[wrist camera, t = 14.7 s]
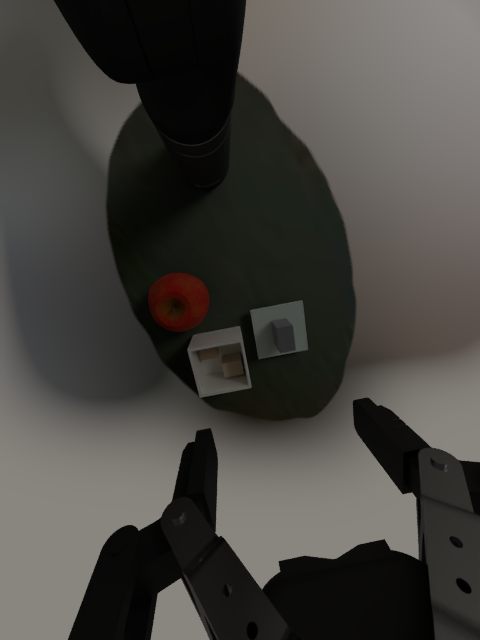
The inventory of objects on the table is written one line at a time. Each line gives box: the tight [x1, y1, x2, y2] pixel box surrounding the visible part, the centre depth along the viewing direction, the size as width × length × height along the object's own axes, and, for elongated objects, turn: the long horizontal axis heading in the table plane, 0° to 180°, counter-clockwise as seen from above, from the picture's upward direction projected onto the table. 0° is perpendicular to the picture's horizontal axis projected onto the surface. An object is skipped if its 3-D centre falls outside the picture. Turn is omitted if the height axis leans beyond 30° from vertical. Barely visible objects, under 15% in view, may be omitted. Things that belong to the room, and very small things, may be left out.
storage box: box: [187, 326, 252, 398], centre depth 46 cm, size 10×10×8 cm
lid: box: [250, 300, 308, 359], centre depth 46 cm, size 11×11×7 cm
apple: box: [148, 273, 209, 332], centre depth 41 cm, size 11×11×11 cm
